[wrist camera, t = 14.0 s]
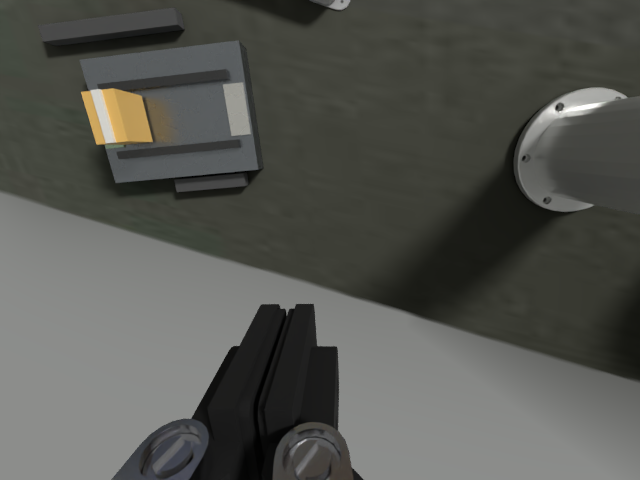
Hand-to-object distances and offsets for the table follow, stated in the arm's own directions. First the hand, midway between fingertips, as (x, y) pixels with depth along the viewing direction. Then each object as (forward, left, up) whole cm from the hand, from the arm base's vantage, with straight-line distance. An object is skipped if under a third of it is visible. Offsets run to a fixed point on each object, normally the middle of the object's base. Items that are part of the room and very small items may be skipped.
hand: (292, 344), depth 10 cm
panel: (+14, -10, -27) cm, 32 cm away
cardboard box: (+18, -10, -24) cm, 32 cm away
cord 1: (+19, -19, -27) cm, 38 cm away
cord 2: (+12, -3, -27) cm, 30 cm away
